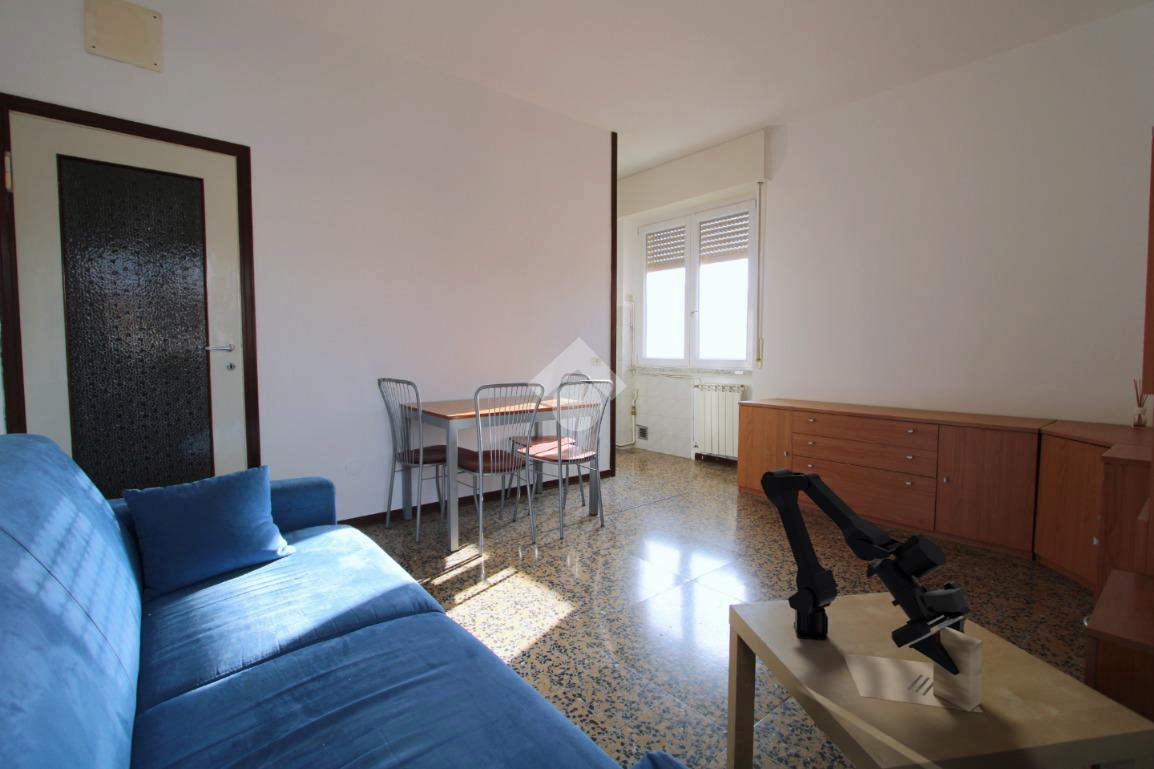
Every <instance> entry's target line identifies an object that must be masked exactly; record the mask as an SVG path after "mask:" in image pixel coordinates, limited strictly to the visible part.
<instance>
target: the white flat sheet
mask: <svg viewBox="0 0 1154 769" xmlns="http://www.w3.org/2000/svg"><path fill="white" fill-rule="evenodd" d="M842 656H843V657H844V660H845V662H846V665H847V667H848V670H849V672H850V675H851V676H852V680H853V681H854V684H855V686H856V689H857V691H858V693H859V696H860V697H862V698H868V699H869V698H870V699H876V700H877V699H878V700H885V701H892V702H901V703H908V704H915V705H922V706H931V707H939V708H946V709H955V710H960V711H961V710H962V711H964V710H963V709H961V708H959V707H957V706H955V705H953V704H951V703H949V702H947V701H945V700H943V699H941V698H939V697H937V696H935V695H933V668H934V662H925V661H915V660H906V659H898V658H890V657H881V656H872V655H864V654H863V655H862V654H853V653H845V652H843V653H842ZM971 712H975V713H976V712H978V713H984V712H983V710H982V709H981V707H980V705H979V706H978V707H976V708H975V709H974V710H972V711H971Z"/></svg>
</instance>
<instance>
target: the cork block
mask: <svg viewBox="0 0 1154 769" xmlns="http://www.w3.org/2000/svg"><path fill="white" fill-rule="evenodd" d="M938 630H939V631H940V641H941V644H942V645H943V647H944V648H945V650H946V651H947V653H948V654H949V656H950V657H951V659H952V660H953V662H954V663H955V665H956V667H957V668H958V670H959V672H960V673H959V674H957V675H953V674H952V673H950V672H949V671H948V670H946V669H945V668H943V667H942V666H940V665H939V664H937V663H936V662H934V661H933V663H934V668H933V695H935V696H937V697H939V698H941V699H943V700H945V701H947V702H949V703H951V704H953V705H955V706H957V707H959V708H961V709H963V710H962V711H965V712H967V713H968V714H969V713H971V712H973V711H972V710H974V709H975V708H976V707H978V706H979V707H980V705H982V683H983V682H982V680H983V678H982V677H983V676H982V675H983V643H984V642H983V640H982V639H979V638H977V637H973V636H971V635H968V634H966V633H965V632H964V633H965V634H964V633H961V632H959V631H956V630H954V629H951V628H948V627H945V628H943V629H941V630H940V629H938ZM938 630H936V631H937V632H938ZM936 631H934V633H936Z"/></svg>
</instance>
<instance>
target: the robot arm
mask: <svg viewBox="0 0 1154 769" xmlns="http://www.w3.org/2000/svg"><path fill="white" fill-rule="evenodd" d="M760 486H761V488H762V491H763V492H764V494H765V496H766V498H767V500H768V501H770V503H771V504H773V505H774V507H776V509H777V512H778V515H779V518H780V521H781V524H782V527H783V529H784V532H785V535H786V538H787V542H788V544H789V547H790V549H791V553H792V555H793V558H794V561H795V564H796V567H797V571H796V577H795V578H796V579H795V584H796V585H795V586H796V589H797V592H795V593H794V594H792V595H791V596H789V597H788V599H787V600H788V604H789V608H790V609H793V610H794V622H793V627H795V628H794V631H795V635H796V636H797V638H801V639H812V640H819V641H820V640H821V641H827V640H828V636H827V635H828V634H829V617H828V614H827V612H826V609H825V608H827V607H830V606H831V604H832V603H833V602H834V601H835V600H836V597H837V596H838V589H837V588H839V585H838V584H837V581H836V580H835V577H834V572H833V570H832V569H831V568H830V569H827V570H826V569H825V567H823V566H822V565H821V564H820V562H819V560H818V557H817V554H816V551H815V548H814V546H813V543H812V540H811V537H810V534H809V531H808V529H807V526H806V523H805V520H804V518H803V515H802V511H801V509H800V507H799V494H800V492H803V494H805V495H806V496H807V497H808V498H809V499H810V500H811V501H812V502H813V503H814V505H816V506H817V508H818V509H820V510H821V512H822V513H823V514H824V515H825V516H827V518H828V519H830V521H832V522H833V523H834V524H835V525H836V527H837V528H838V529H839V530H840V531H841V533H842V536H843V538H844V539H843V540H844V542H845V543H846V545H847V546H848V548H849V549H850V550H851V552H852V553H853V554H854V555H855V557H856V558H858V559H859V560H861V561H864V562H870V563H868V564H867V571H866V573H865V574H866V578H867V579H871V578H873V577H876V576H877V578H878V579H879V580H880V582H881V583H882V585H883V586H884V587H885V589H887V591H888V592H889V594H890V596H892V598H893V599H894V600H892V601H891V604H892V605H893V606H894V607H897V606H898V607H900V609H901V611H903V613H904V614H905V615H906V617H907V618H908V619H909V620H907V621H905V623H906V624H903V625H904V626H902V625H901V626H902V627H901V626H899V627H897V628H896V629H894V630H892V631H891V635H890V636H891V638H890V639H891V640H892V642H893V643H894V644H895V646H896V647H897V648H898V649H900V648H902V647H905V646H907V645H908V646H907V647H909V649H914V650H915V651H917V652H919V653H920V654H922V655H924V656H925V657H927V658H928V659H929V660H931V661H933V663H934V662H936V663H937V664H939V665H940V666H942V667H943V668H945V669H946V670H948V671H949V672H950V673H952V674H953V675H957V674H959V673H960V672H959V670H958V668H957V667H956V665H955V663H954V662H953V660H952V659H951V657H950V656H949V654H948V653H947V651H946V650H945V648H944V647H943V645H942V644H941V641H940V631H939V630H941V629H943V628H945V627H948V628H951V629H954V630H956V631H959V632H961V633H964V634H966V633H965V630H964V628H965V622H966V621H967V616H965V615H966V614H968V613H970V612H972V610H971V608H969V606H968V603H967V601H966V597H967V596H968V593H967V591H965V590H964V589H963V587H962V586H961V585H960V584H959V583H958V582H957V581H948V582H946V583H944V584H943V588H941V589H938V590H933V589H932V588H931V587H930V586H929V585H927V584H926V583H925V584H923V585H922V584H921V583H920V582H919V580H918V579H923V578H925V577H926V576H928V575H930V574H931V573H933V572H936V570H938V569H940V568H942V567H944V566H945V565H947V563H948V559H947V556H946V553H945V551H943V550H944V549H942V548H941V547H940V545H937V543H935V541H932V540H931V539H928V538H926V537H924V536H923V534H922V533H920V532H918V533H915V534H913V535H912V536H910V537H909V538H908V539H907V540H906V541H902V540H900V539H897V538H894V537H892V536H890V535H889V533H888V532H886V531H885V530H884V529H882V528H881V527H879V526H878V525H877V524H875V523H874V522H872V521H869V520H867V519H865V518H864V517H863V518H862V517H861V516H860V515H859V514H857V513H856V512H855V511H854V510H853V509H852V508H851V507H850V506H849V505H848V504H847V503H846V502H845V501H844V500H843V499H841V497H840V496H839V495H838V494H836V493H835V492H834V490H832V489H831V488H830V487H829V486H828V485H827V483H825V482H824V481H823V480H822V477H821V476H820V475H819V474H818V473H816V472H803V471H802V472H801V471H792V470H791V469H789V468H779V469H775V470H769V471H765V472H763V474H762V476H761V478H760ZM893 556H894V558H893V559H891V558H890V557H893ZM875 560H881V561H879V562H871V561H875ZM962 616H964V617H963V618H961V619H960V617H962ZM935 627H937V628H938V630H936V631H934V630H933V628H935ZM937 631H938V632H937ZM935 632H936V633H935ZM910 642H913V644H908V643H910Z"/></svg>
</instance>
